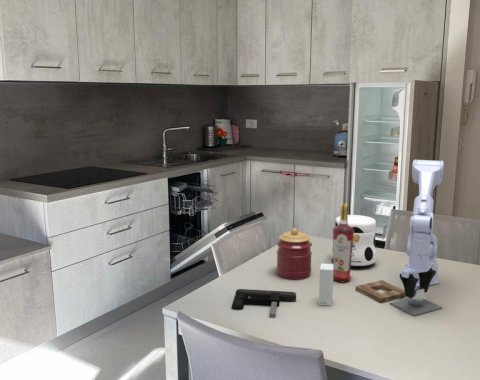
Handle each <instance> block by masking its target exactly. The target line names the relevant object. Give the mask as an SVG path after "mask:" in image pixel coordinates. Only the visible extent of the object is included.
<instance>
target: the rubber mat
mask: <svg viewBox="0 0 480 380" xmlns="http://www.w3.org/2000/svg"><path fill="white" fill-rule="evenodd" d="M408 300H409V297H405V298H403V299H402V298H401V299H397V300H395V301H394V300H393V301H389V305H391V306H392V307H394V308H396V309H398V310H400V311H403V312H404V313H406V314H407V315H408V314H409V316H412V317H417V316H422V315H425V314H429V313H432V312H435V311H439V310H442V309H443V306H441V305H440V304H439V305H438V304H436V303H434V302H432V301H430V300H428V299H425V298H424V300H423V307H420V308H416V307H412V306H410V305H409V304H408Z"/></svg>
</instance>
